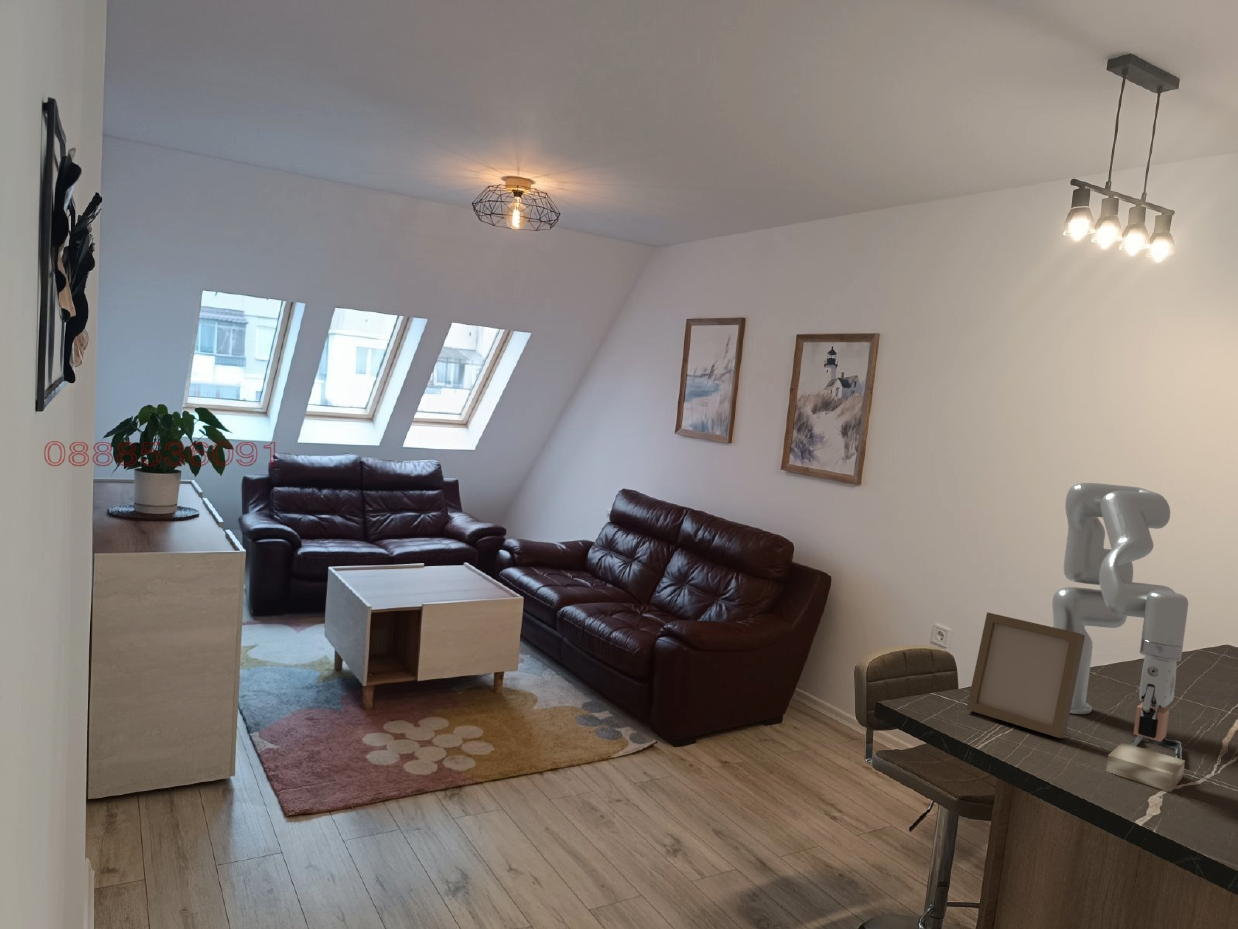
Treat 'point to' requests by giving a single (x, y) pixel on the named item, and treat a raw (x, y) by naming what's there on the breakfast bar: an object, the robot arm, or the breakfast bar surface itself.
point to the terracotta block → (1161, 726)
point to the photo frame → (1026, 674)
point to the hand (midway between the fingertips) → (1150, 732)
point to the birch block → (1145, 766)
